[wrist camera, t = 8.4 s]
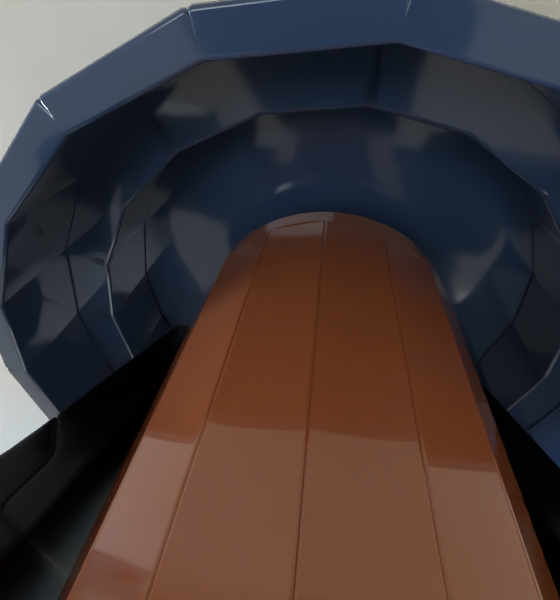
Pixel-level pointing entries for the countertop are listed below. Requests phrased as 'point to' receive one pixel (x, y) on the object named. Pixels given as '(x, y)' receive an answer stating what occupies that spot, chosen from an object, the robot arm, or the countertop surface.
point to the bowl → (290, 178)
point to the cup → (317, 441)
